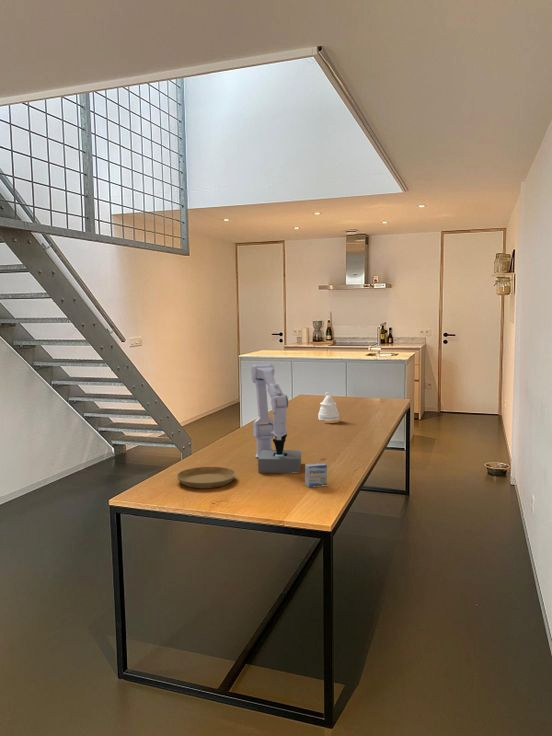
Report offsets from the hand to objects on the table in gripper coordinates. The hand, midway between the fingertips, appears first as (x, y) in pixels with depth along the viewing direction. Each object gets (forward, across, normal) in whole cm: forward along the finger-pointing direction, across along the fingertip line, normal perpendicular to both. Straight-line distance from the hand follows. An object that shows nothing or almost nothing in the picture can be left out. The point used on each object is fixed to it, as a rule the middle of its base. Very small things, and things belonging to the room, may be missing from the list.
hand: (280, 452), depth 255 cm
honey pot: (+7, -104, +23) cm, 107 cm away
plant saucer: (+7, +21, -29) cm, 37 cm away
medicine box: (+7, +25, +16) cm, 31 cm away
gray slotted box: (+7, 0, 0) cm, 7 cm away
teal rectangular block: (+6, 0, 0) cm, 6 cm away
